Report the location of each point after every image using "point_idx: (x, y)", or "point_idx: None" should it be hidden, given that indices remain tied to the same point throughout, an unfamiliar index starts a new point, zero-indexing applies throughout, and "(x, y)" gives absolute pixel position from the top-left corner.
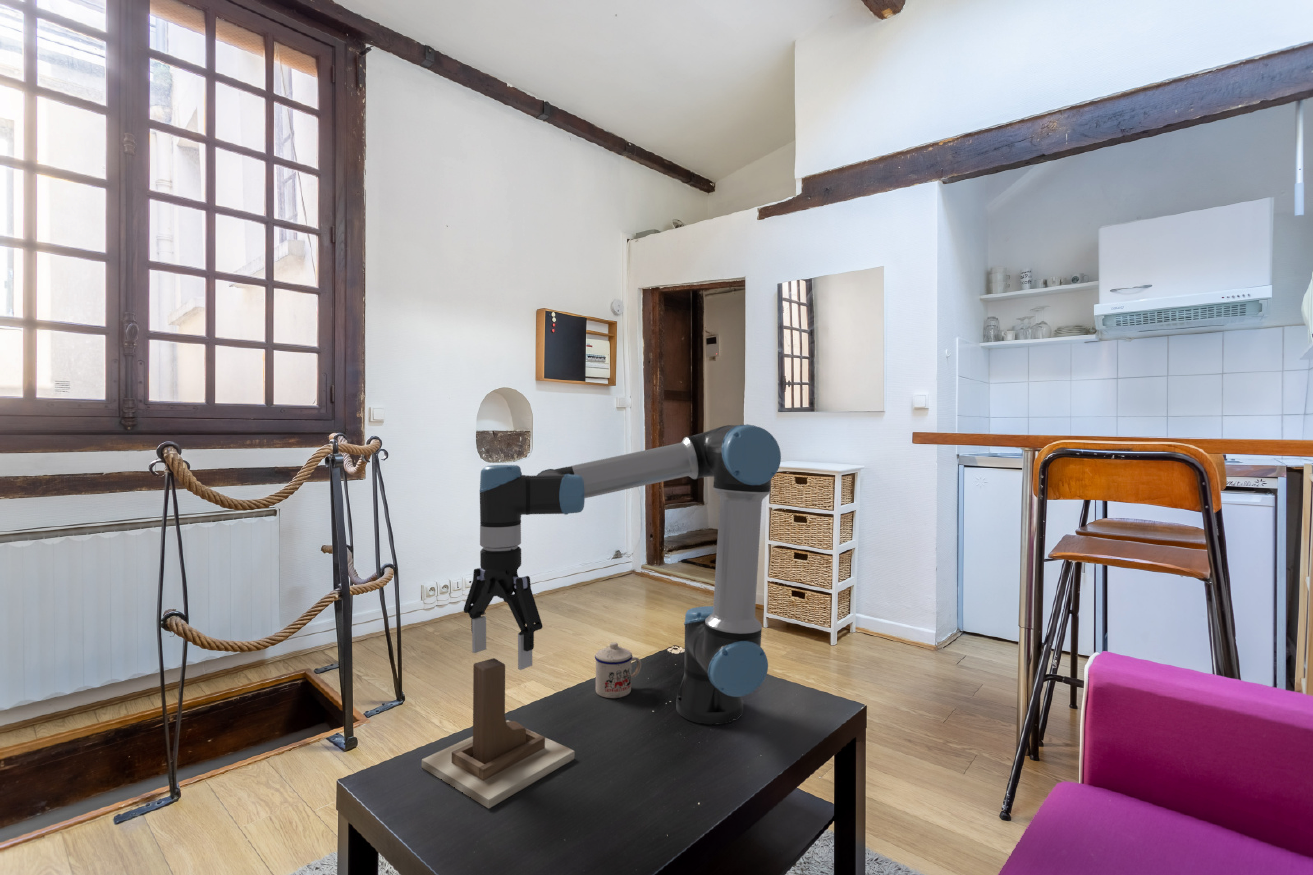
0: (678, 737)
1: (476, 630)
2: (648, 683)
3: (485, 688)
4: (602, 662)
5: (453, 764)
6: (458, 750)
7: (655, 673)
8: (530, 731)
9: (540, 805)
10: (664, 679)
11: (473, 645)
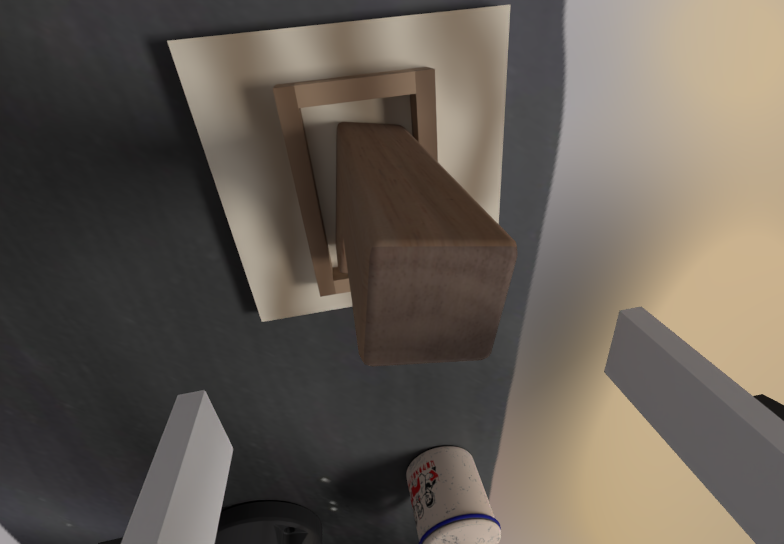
0: None
1: (740, 434)
2: None
3: (354, 208)
4: (455, 518)
5: (414, 66)
6: (427, 90)
7: None
8: None
9: (115, 156)
10: (404, 530)
11: (665, 337)
